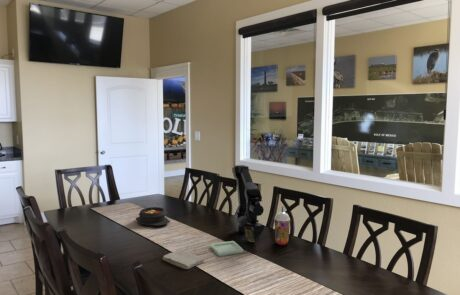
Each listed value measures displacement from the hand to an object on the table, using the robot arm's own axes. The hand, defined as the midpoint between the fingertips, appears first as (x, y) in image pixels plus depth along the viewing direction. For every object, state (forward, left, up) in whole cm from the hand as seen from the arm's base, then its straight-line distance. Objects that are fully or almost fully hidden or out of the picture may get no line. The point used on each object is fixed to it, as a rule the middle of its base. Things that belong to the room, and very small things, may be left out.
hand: (251, 238), depth 199 cm
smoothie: (+8, +14, -2) cm, 16 cm away
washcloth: (+11, -41, -2) cm, 42 cm away
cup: (0, 0, -2) cm, 2 cm away
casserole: (-53, -44, -2) cm, 69 cm away
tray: (+6, -17, -2) cm, 18 cm away
